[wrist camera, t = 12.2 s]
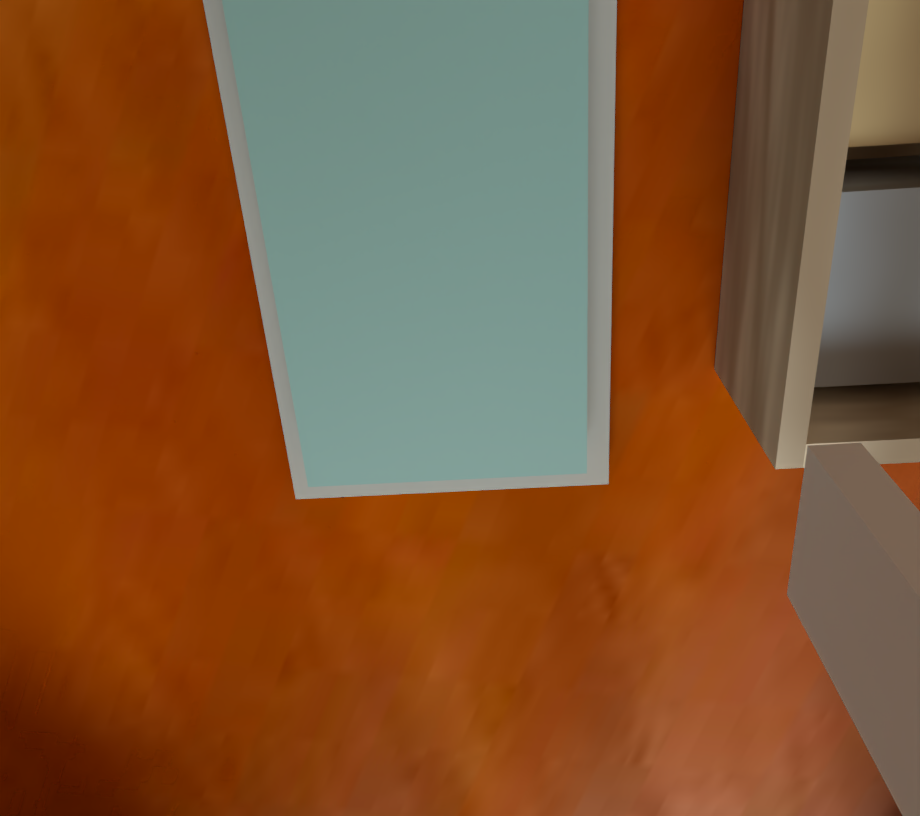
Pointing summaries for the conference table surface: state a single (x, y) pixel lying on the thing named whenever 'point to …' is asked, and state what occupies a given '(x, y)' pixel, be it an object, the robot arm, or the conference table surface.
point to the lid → (424, 229)
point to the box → (825, 229)
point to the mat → (599, 268)
